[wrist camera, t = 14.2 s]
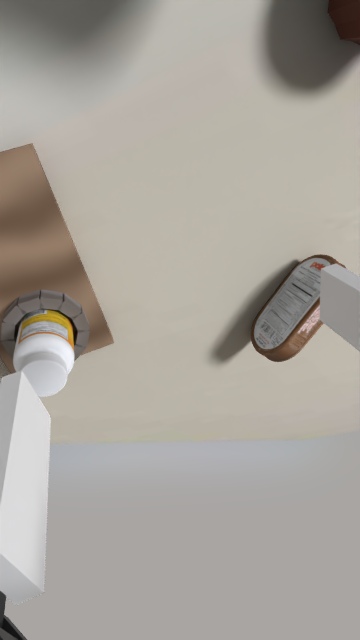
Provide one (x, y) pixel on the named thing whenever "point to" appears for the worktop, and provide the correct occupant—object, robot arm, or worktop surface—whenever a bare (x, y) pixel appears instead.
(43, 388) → the supplement bottle
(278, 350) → the tin
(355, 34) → the muffin
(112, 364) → the worktop surface
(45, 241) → the board
